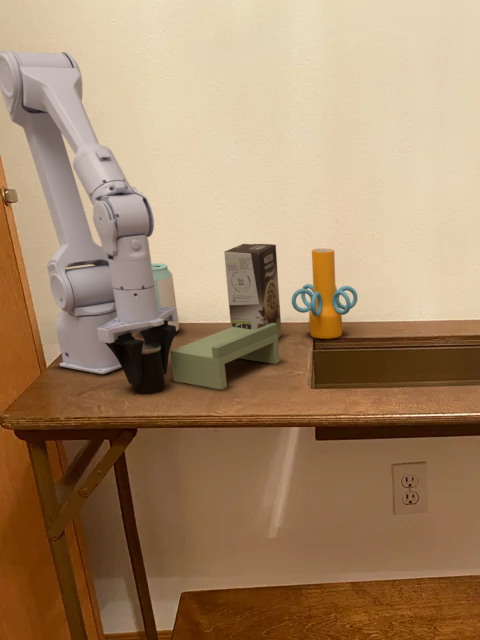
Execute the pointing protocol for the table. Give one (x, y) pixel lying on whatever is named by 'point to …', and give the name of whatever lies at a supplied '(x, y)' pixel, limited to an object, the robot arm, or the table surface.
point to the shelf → (223, 354)
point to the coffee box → (253, 286)
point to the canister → (151, 369)
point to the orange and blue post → (324, 297)
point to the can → (164, 288)
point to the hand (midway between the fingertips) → (147, 378)
